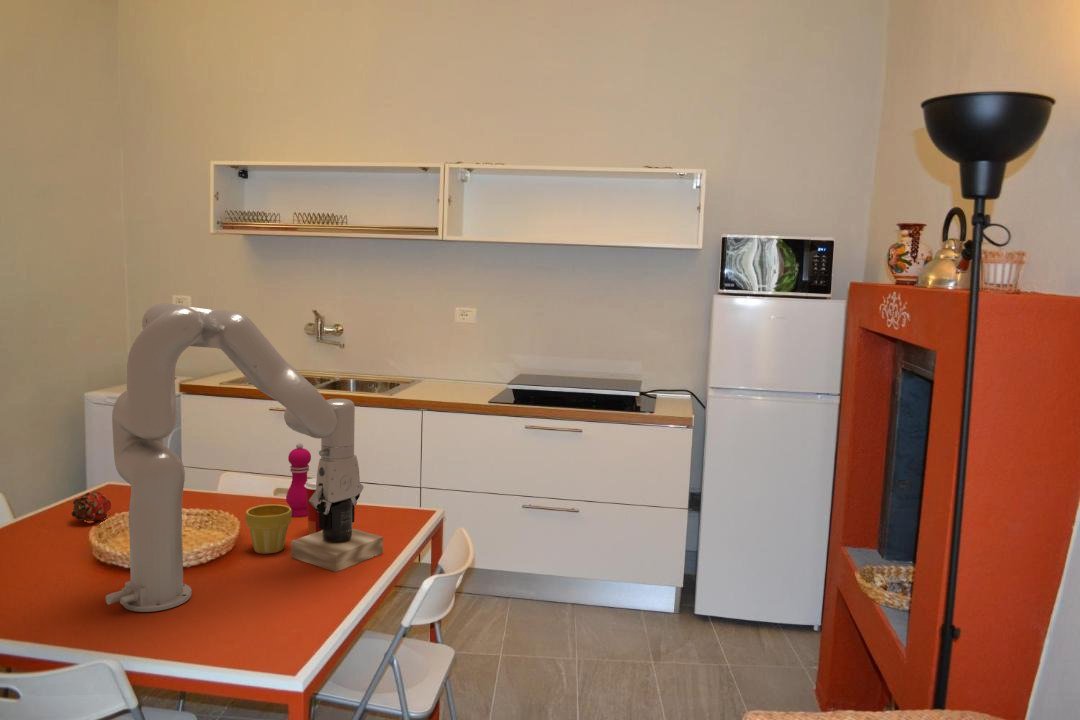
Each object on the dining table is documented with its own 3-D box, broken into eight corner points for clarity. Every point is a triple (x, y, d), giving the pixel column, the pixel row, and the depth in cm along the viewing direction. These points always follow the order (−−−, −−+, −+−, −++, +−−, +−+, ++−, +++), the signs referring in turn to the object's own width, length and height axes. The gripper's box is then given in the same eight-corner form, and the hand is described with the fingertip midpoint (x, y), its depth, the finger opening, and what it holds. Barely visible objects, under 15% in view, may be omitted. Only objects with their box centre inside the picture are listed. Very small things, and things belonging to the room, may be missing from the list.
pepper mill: (286, 510, 217) (286, 440, 214) (313, 508, 219) (313, 439, 217) (285, 518, 210) (285, 446, 208) (313, 516, 212) (313, 445, 210)
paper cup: (339, 529, 202) (340, 477, 200) (329, 539, 194) (329, 485, 193) (311, 527, 203) (311, 475, 201) (299, 537, 195) (299, 483, 194)
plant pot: (271, 538, 193) (271, 501, 192) (300, 547, 188) (300, 508, 187) (236, 550, 185) (236, 511, 184) (266, 560, 179) (265, 519, 178)
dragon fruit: (82, 535, 196) (94, 527, 207) (113, 513, 198) (122, 506, 210) (60, 509, 195) (73, 502, 206) (91, 487, 197) (102, 482, 208)
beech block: (336, 572, 174) (336, 554, 173) (291, 557, 181) (291, 540, 181) (382, 553, 186) (383, 537, 186) (339, 540, 194) (339, 524, 194)
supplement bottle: (351, 532, 187) (352, 484, 186) (352, 542, 181) (352, 492, 180) (322, 534, 186) (322, 485, 184) (322, 543, 179) (322, 493, 178)
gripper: (320, 460, 172) (319, 538, 174) (375, 447, 186) (374, 519, 188) (297, 455, 176) (297, 531, 178) (353, 443, 190) (352, 513, 192)
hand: (337, 524), depth 183 cm, fingers closed on supplement bottle, 6 cm apart
